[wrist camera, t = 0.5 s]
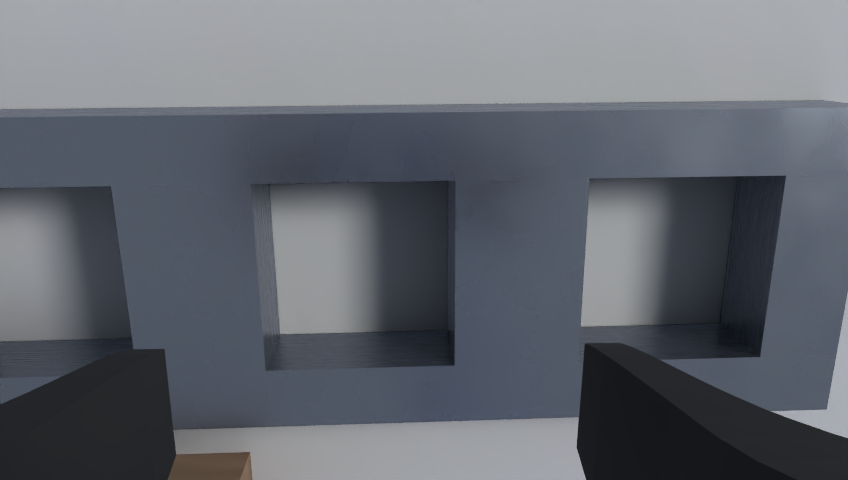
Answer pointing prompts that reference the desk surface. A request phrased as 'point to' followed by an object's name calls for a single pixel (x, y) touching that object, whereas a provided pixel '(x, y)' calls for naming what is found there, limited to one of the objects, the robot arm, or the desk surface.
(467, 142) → the grey square hole board
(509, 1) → the desk surface
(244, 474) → the square peg
